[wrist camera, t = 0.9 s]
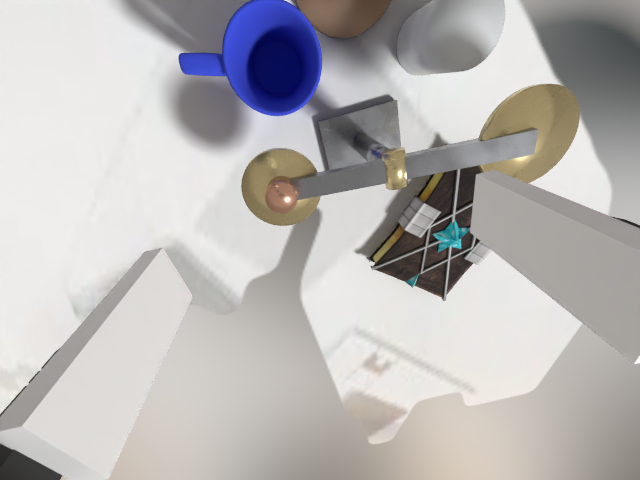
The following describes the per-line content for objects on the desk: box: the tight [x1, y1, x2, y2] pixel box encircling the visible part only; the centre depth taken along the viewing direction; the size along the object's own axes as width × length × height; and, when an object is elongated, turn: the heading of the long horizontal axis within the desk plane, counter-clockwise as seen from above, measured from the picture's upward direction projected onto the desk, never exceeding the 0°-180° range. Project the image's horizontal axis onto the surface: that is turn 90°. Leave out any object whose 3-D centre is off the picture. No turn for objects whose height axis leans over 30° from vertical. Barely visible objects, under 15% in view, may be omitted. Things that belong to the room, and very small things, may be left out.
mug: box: [179, 0, 322, 116], centre depth 26 cm, size 8×12×10 cm
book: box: [368, 166, 492, 301], centre depth 42 cm, size 22×17×5 cm
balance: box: [241, 84, 580, 226], centre depth 29 cm, size 8×30×16 cm, turn 104°
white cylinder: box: [396, 0, 505, 76], centre depth 27 cm, size 6×6×9 cm
